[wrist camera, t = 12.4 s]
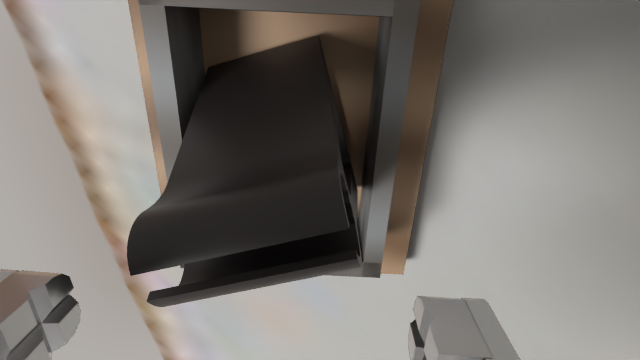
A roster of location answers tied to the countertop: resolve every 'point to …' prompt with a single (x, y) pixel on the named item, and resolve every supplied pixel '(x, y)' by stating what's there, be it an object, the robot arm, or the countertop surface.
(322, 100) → the phone stand
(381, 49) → the socket board
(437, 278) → the countertop surface
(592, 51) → the countertop surface
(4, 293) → the robot arm
